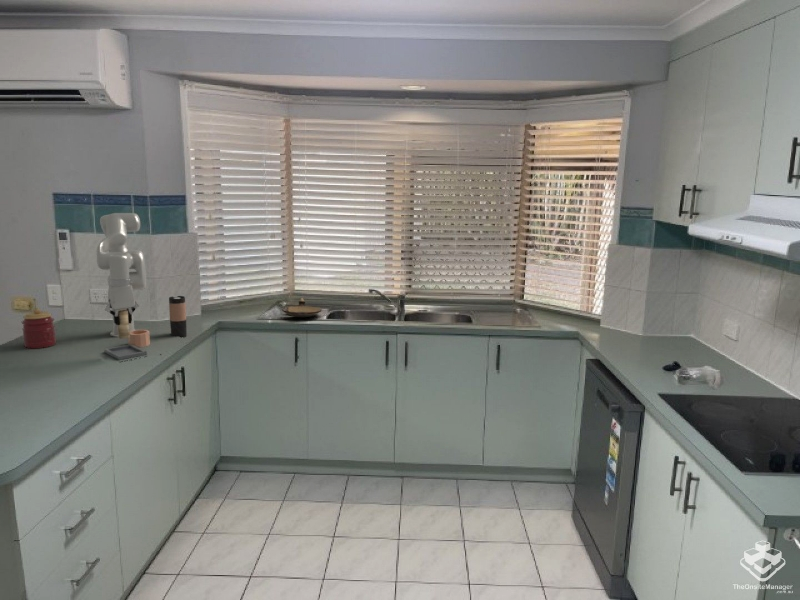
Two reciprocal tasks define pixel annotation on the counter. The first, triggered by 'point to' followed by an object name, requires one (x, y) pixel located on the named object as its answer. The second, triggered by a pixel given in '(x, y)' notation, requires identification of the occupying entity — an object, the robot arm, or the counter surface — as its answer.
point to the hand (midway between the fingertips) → (123, 323)
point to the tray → (125, 352)
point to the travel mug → (177, 316)
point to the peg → (123, 324)
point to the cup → (139, 338)
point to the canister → (38, 329)
